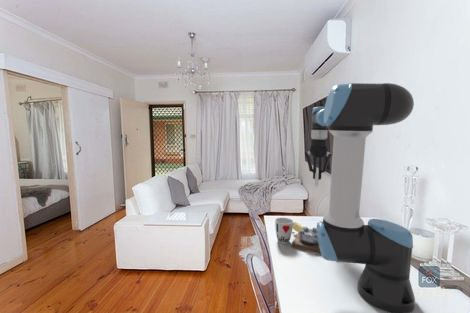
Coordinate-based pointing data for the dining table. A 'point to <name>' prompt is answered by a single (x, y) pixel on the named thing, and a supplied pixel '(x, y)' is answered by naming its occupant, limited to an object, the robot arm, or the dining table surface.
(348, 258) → the robot arm
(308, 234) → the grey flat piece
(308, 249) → the base board
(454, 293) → the dining table surface
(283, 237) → the cup
